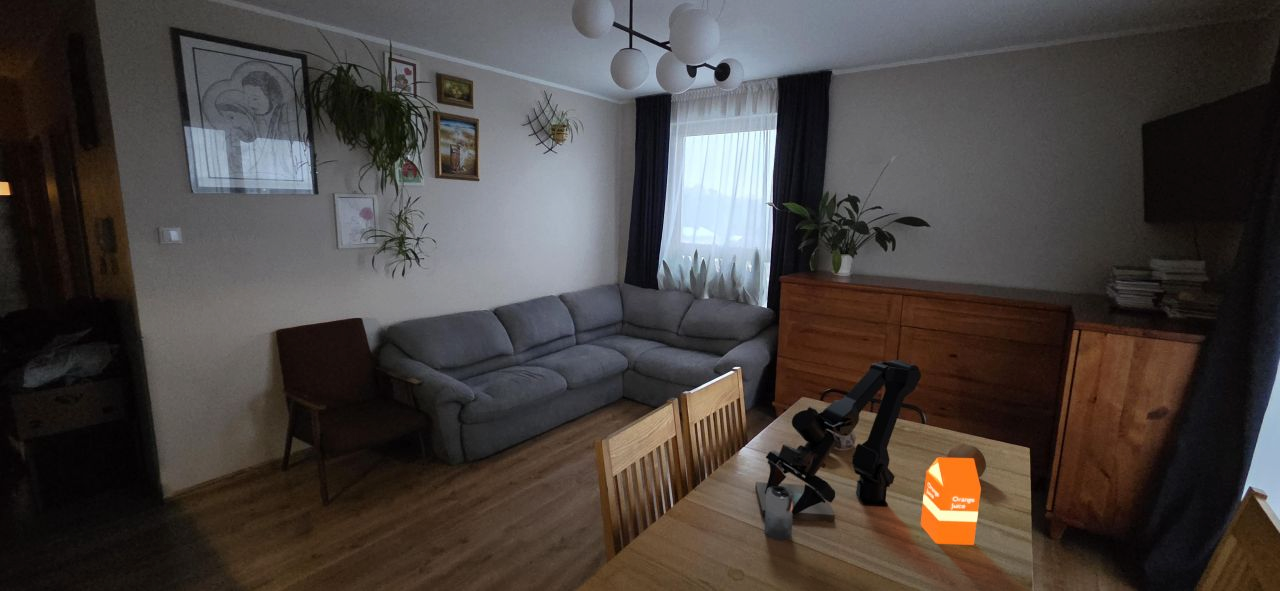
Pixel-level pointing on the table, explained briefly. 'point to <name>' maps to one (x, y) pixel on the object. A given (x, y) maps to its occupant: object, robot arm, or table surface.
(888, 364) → the robot arm
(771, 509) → the silver metal cylinder
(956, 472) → the orange juice
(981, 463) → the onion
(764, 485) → the walnut board
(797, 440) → the table surface
